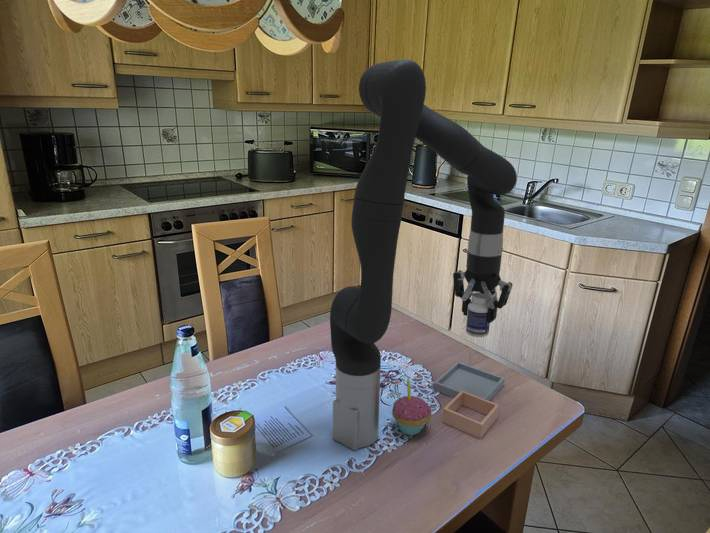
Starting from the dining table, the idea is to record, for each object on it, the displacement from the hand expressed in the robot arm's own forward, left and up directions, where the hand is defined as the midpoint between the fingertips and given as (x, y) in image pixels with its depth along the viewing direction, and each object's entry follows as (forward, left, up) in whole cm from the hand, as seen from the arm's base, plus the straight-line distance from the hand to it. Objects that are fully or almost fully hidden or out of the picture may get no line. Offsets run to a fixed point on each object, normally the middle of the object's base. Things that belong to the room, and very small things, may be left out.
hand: (478, 317), depth 114 cm
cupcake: (-22, +4, -20) cm, 30 cm away
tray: (+1, +1, -20) cm, 20 cm away
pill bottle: (0, 0, -4) cm, 4 cm away
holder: (-11, -5, -20) cm, 23 cm away
